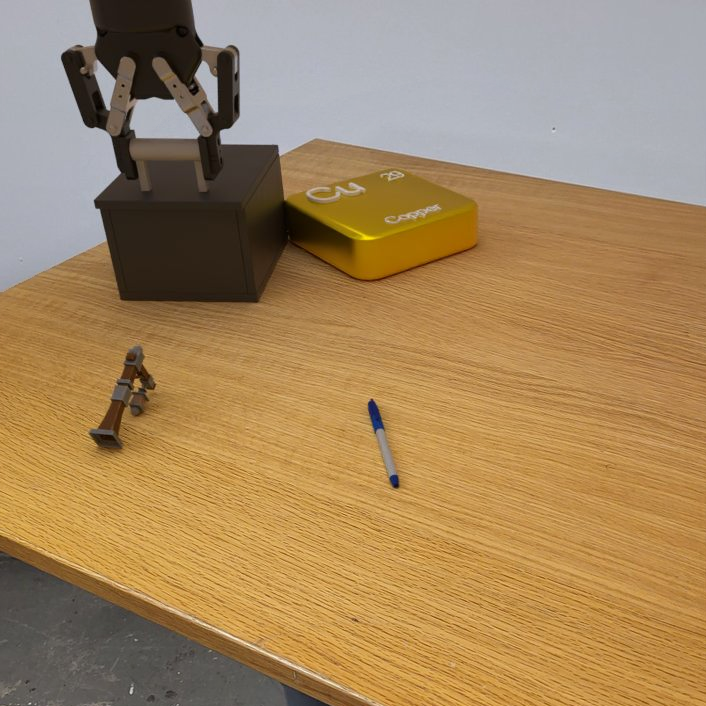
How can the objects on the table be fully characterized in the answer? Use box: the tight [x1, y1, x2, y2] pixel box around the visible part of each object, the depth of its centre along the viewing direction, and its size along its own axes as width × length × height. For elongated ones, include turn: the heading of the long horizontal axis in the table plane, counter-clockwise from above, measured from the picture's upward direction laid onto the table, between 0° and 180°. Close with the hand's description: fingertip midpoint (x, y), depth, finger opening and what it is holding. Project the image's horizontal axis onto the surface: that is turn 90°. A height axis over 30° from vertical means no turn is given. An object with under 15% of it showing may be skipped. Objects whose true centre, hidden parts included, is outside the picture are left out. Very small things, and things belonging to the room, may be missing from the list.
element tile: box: [284, 167, 479, 281], centre depth 94 cm, size 15×15×5 cm
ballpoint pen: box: [367, 398, 400, 489], centre depth 65 cm, size 10×1×1 cm, turn 14°
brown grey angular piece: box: [87, 344, 157, 449], centre depth 68 cm, size 2×8×4 cm, turn 171°
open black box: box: [99, 153, 290, 303], centre depth 88 cm, size 15×13×9 cm
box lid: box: [93, 137, 280, 211], centre depth 83 cm, size 15×13×5 cm
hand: (172, 176), depth 79 cm, fingers closed on box lid, 6 cm apart
